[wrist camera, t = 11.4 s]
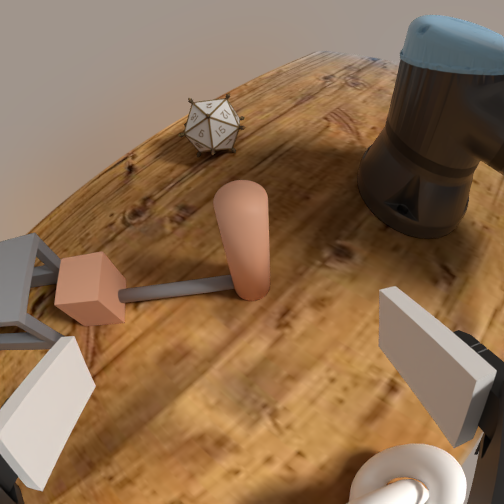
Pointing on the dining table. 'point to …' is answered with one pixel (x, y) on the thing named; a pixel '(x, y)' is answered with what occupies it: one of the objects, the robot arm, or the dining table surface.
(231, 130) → the game die
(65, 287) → the block
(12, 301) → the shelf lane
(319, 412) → the dining table surface
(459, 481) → the white knot
